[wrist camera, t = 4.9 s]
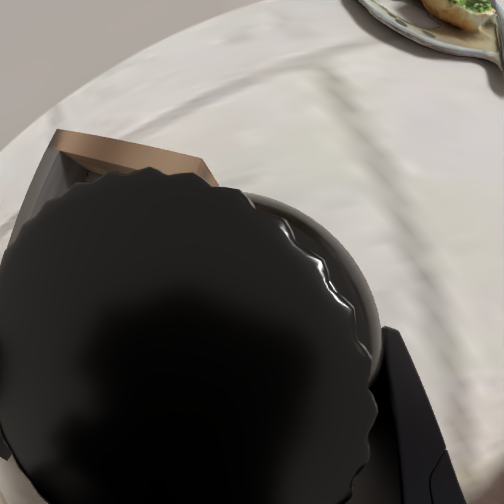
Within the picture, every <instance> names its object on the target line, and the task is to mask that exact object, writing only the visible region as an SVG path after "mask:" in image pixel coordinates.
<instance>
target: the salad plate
mask: <svg viewBox="0 0 504 504" xmlns="http://www.w3.org/2000/svg"><path fill="white" fill-rule="evenodd" d="M358 1H359V2H360V3H361V4H362V5H363V6H365V7H366V8H367V9H368V11H369V12H370V13H371V14H372V15H373V16H374V17H375V18H376V19H378V20H379V21H381V22H382V23H384V24H385V25H387V26H388V27H390V28H391V29H393V30H395V31H396V32H398V33H400V34H402V35H404V36H405V37H407V38H409V39H411V40H413V41H415V42H417V43H420V44H422V45H424V46H426V47H429V48H431V49H434V50H437V51H440V52H443V53H446V54H451V55H457V56H467V57H477V58H482V59H486V60H489V61H492V62H494V63H496V64H497V65H498V66H499V68H500V69H501V71H502V72H503V74H504V9H503V8H502V7H501V6H500V5H499V4H498V2H497V1H496V0H408V1H411V2H413V3H415V4H416V5H418V6H419V7H421V8H422V9H424V10H425V11H427V12H428V13H429V17H430V18H432V19H433V20H435V21H437V22H438V23H439V24H440V27H438V28H433V29H422V28H420V27H417V26H415V25H413V24H411V23H409V22H407V21H405V20H403V19H402V18H400V17H399V16H397V15H395V14H393V13H392V12H390V11H389V10H387V9H386V8H384V7H383V6H382V5H380V4H379V3H378V2H377V1H376V0H358Z"/></svg>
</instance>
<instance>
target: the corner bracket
mask: <svg viewBox="0 0 504 504" xmlns="http://www.w3.org/2000/svg"><path fill="white" fill-rule="evenodd" d="M146 167H153V168H155V169H158V170H160V171H162V172H164V173H165V174H167V175H172V174H178V173H189V172H194V173H196V174H198V175H199V176H200V177H202V178H203V179H205V180H206V181H207V182H208V183H209V184H210V185H211V186H212V187H218V183H217V181H216V180H215V178H214V177H213V175H212V173H211V172H210V170H209V169H208V167H207V166H206V164H205V162H204V161H203V159H201V158H197V157H193V156H189V155H185V154H181V153H177V152H172V151H168V150H164V149H159V148H155V147H150V146H146V145H141V144H136V143H132V142H127V141H122V140H117V139H112V138H107V137H101V136H96V135H90V134H85V133H79V132H73V131H67V130H61V129H57V130H56V132H55V134H54V135H53V137H52V139H51V141H50V143H49V145H48V147H47V149H46V151H45V153H44V155H43V157H42V159H41V162H40V164H39V166H38V168H37V170H36V172H35V175H34V177H33V179H32V182H31V184H30V186H29V189H28V191H27V193H26V196H25V198H24V201H23V204H22V206H21V209H20V211H19V214H18V217H17V220H16V222H15V225H14V228H13V231H12V234H11V237H10V240H9V243H8V247H9V246H10V245H11V244H12V243H13V242H14V241H15V239H16V237H17V235H18V233H19V231H20V229H21V227H22V225H23V224H24V223H25V222H27V221H28V220H31V219H32V218H34V217H35V216H36V214H37V213H38V212H39V210H40V209H41V207H42V206H43V205H44V204H45V202H46V201H47V200H50V199H53V198H57V197H61V196H62V195H63V194H64V193H65V192H66V191H67V190H68V189H69V188H70V187H71V186H72V185H73V184H75V183H76V182H83V181H84V179H85V177H86V175H87V173H88V171H91V172H95V173H98V174H102V175H103V174H105V173H107V172H108V171H118V172H121V173H123V174H129V173H132V172H134V171H137V170H140V169H143V168H146ZM8 247H7V248H8Z"/></svg>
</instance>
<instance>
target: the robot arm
mask: <svg viewBox="0 0 504 504" xmlns="http://www.w3.org/2000/svg"><path fill="white" fill-rule="evenodd" d="M381 331H382V344H383V352H382V367H381V374H380V380H379V384H378V388H377V392H376V395H375V398H374V399H375V401H376V404H377V406H378V413H377V416H376V419H375V422H374V424H373V426H372V428H371V429H370V431H369V434H368V436H367V437H368V439H369V442H370V452H371V456H370V459H369V461H368V462H367V464H366V465H365V467H364V468H363V469H362V471H361V472H360V473H359V474H358V475H357V476H356V478H355V479H354V490H353V495H352V498H351V499H350V500H349V501H347V502H346V503H345V504H467V503H466V501H465V498H464V496H463V493H462V490H461V488H460V485H459V483H458V480H457V477H456V474H455V471H454V468H453V465H452V463H451V459H450V456H449V453H448V451H447V450H445V449H446V445H445V442H444V439H443V436H442V434H441V431H440V428H439V425H438V423H437V420H436V417H435V415H434V412H433V410H432V407H431V404H430V402H429V399H428V397H427V394H426V392H425V389H424V387H423V385H422V382H421V380H420V377H419V375H418V373H417V370H416V368H415V366H414V363H413V361H412V359H411V356H410V354H409V352H408V350H407V348H406V345H405V343H404V341H403V339H402V337H401V334H400V332H399V331H398V330H396V329H393V328H390V327H387V326H384V327H382V328H381ZM11 454H12V453H11V452H10V450H9V448H8V447H7V445H6V444H5V442H4V441H3V439H2V435H1V432H0V457H2V458H3V459H5V460H8V459H9V458H10V456H11Z"/></svg>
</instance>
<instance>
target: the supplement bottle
mask: <svg viewBox="0 0 504 504" xmlns="http://www.w3.org/2000/svg"><path fill="white" fill-rule="evenodd" d="M382 352H383V344H382V331H381V325H380V320H379V314H378V310H377V307H376V304H375V301H374V297H373V295H372V292H371V290H370V288H369V285H368V283H367V281H366V279H365V277H364V275H363V274H362V272H361V270H360V268H359V266H358V265H357V264H356V262H355V261H354V259H353V258H352V256H351V255H350V254H349V252H348V251H347V250H346V249H345V248H344V247H343V245H342V244H341V243H340V242H339V241H338V240H337V239H336V238H335V237H334V236H333V235H332V234H331V233H330V232H329V231H328V230H326V229H325V228H324V227H323V226H321V225H320V224H319V223H317V222H316V221H315V220H313V219H312V218H311V217H309V216H307V215H306V214H304V213H302V212H301V211H299V210H297V209H295V208H293V207H291V206H289V205H287V204H285V203H282V202H280V201H277V200H274V199H271V198H268V197H265V196H261V195H256V194H252V193H246V192H242V191H241V190H239V189H233V188H227V187H212V186H211V185H210V184H209V183H208V182H207V181H206V180H205V179H203V178H202V177H200V176H199V175H198V174H196V173H194V172H189V173H178V174H172V175H167V174H165V173H164V172H162V171H160V170H158V169H155V168H153V167H146V168H143V169H140V170H137V171H134V172H132V173H129V174H123V173H121V172H118V171H108V172H107V173H105V174H103V175H101V176H100V177H98V178H97V179H95V180H94V181H92V182H76V183H75V184H73V185H72V186H71V187H70V188H69V189H68V190H67V191H66V192H65V193H64V194H63V195H62V196H61V197H57V198H53V199H50V200H47V201H46V202H45V204H44V205H43V206H42V207H41V209H40V210H39V212H38V213H37V214H36V216H35V217H34V218H32V219H31V220H28V221H27V222H25V223H24V224H23V225H22V227H21V229H20V231H19V233H18V235H17V237H16V239H15V241H14V242H13V243H12V244H11V245H10V246H9V247H8V248H7V249H6V250H5V252H4V255H3V258H2V261H1V265H0V432H1V435H2V439H3V441H4V442H5V444H6V445H7V447H8V448H9V450H10V452H11V453H12V455H13V457H14V459H15V462H16V464H17V466H18V468H19V469H20V471H21V472H22V473H23V474H24V475H25V476H26V478H27V479H28V480H29V481H30V482H31V484H32V485H33V487H34V489H35V490H36V492H37V493H38V495H39V496H40V497H41V498H42V499H44V500H45V501H46V502H47V503H48V504H345V503H346V502H347V501H349V500H350V499H351V498H352V495H353V490H354V479H355V478H356V476H357V475H358V474H359V473H360V472H361V471H362V469H363V468H364V467H365V465H366V464H367V462H368V461H369V459H370V456H371V452H370V442H369V439H368V437H367V436H368V434H369V431H370V429H371V428H372V426H373V424H374V422H375V419H376V416H377V413H378V406H377V404H376V401H375V399H374V398H375V395H376V392H377V388H378V384H379V380H380V374H381V367H382Z"/></svg>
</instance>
